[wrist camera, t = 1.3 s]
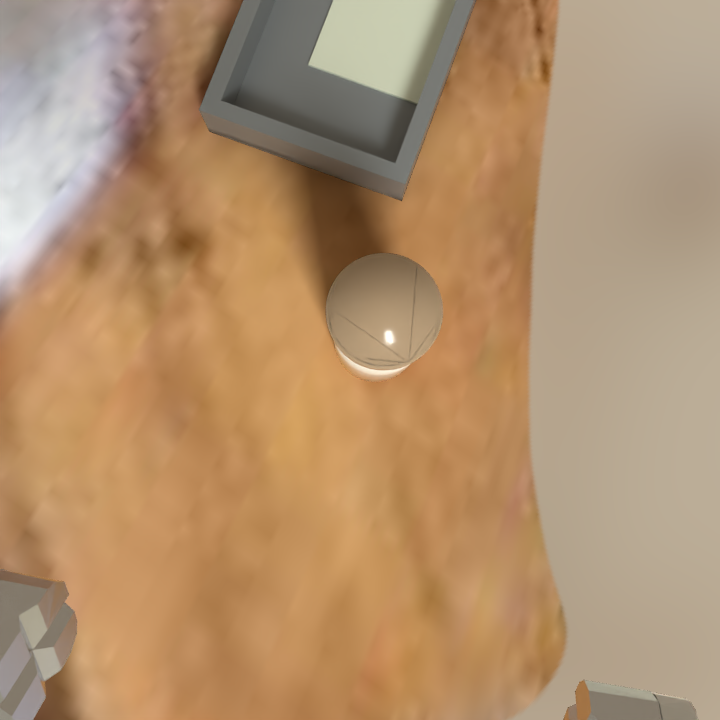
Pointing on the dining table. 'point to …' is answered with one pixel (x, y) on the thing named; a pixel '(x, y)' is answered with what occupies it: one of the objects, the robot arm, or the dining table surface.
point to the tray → (337, 83)
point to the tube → (383, 315)
